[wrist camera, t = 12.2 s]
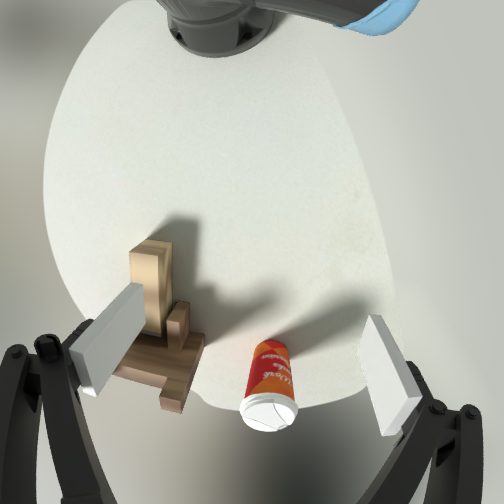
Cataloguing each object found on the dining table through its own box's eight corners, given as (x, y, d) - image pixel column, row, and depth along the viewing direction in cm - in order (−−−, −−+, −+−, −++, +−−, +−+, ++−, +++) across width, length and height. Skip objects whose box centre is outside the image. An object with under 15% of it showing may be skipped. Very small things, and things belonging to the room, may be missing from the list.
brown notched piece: (119, 289, 47) (71, 340, 32) (205, 305, 46) (177, 370, 31) (124, 330, 50) (85, 384, 35) (204, 347, 50) (181, 413, 35)
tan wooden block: (145, 239, 43) (129, 251, 38) (172, 242, 43) (157, 256, 38) (148, 312, 48) (135, 331, 43) (172, 317, 48) (161, 337, 42)
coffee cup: (303, 355, 49) (309, 419, 35) (268, 375, 51) (264, 438, 37) (274, 326, 47) (272, 391, 33) (238, 349, 49) (225, 413, 35)
